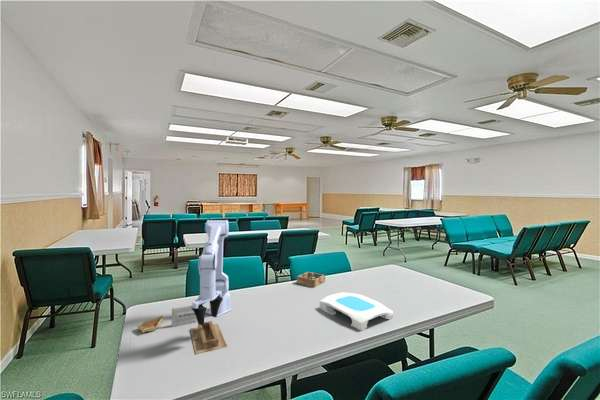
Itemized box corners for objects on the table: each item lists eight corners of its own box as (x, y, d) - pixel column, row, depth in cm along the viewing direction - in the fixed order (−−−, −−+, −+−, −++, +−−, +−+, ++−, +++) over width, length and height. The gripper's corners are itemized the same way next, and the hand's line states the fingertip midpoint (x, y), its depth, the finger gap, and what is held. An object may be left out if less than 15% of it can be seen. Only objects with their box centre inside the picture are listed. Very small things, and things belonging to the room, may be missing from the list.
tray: (217, 324, 120) (217, 317, 120) (227, 348, 102) (227, 340, 102) (190, 330, 116) (190, 322, 115) (195, 355, 98) (195, 347, 98)
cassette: (171, 327, 118) (171, 309, 117) (171, 325, 119) (171, 307, 119) (201, 321, 123) (201, 304, 123) (201, 320, 125) (201, 303, 125)
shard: (163, 318, 124) (162, 314, 124) (171, 324, 120) (171, 320, 119) (136, 328, 116) (136, 324, 116) (144, 334, 111) (144, 330, 111)
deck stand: (307, 279, 185) (307, 271, 185) (325, 282, 178) (325, 275, 178) (296, 284, 175) (296, 276, 175) (314, 288, 167) (314, 280, 167)
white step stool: (349, 301, 148) (350, 289, 148) (393, 322, 125) (394, 308, 125) (318, 310, 137) (318, 297, 137) (360, 335, 114) (361, 319, 113)
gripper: (212, 278, 117) (211, 310, 117) (185, 289, 103) (185, 326, 104) (226, 280, 114) (225, 313, 114) (200, 292, 101) (200, 329, 101)
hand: (207, 319), depth 109 cm, fingers open, 7 cm apart
